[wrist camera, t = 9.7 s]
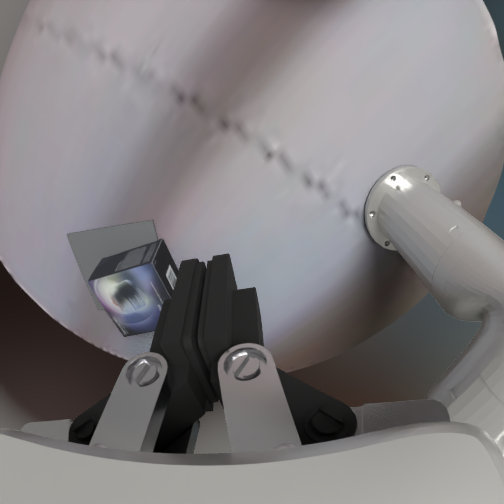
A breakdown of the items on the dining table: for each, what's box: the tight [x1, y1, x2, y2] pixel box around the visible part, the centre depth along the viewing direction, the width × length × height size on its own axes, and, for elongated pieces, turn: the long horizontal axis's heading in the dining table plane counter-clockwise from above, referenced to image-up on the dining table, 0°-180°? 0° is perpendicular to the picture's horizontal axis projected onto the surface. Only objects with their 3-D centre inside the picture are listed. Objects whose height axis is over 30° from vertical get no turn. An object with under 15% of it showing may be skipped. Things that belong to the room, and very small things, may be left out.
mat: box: [67, 220, 158, 310], centre depth 42 cm, size 14×14×1 cm
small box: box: [87, 239, 179, 337], centre depth 40 cm, size 11×6×10 cm
